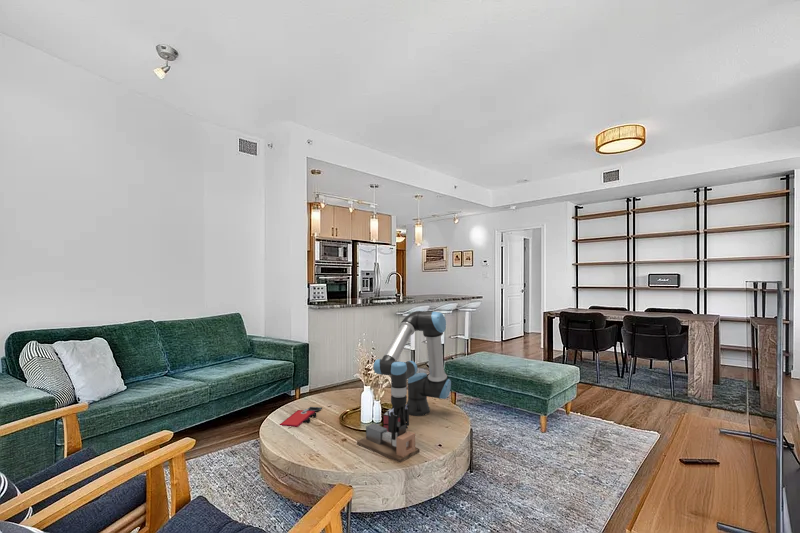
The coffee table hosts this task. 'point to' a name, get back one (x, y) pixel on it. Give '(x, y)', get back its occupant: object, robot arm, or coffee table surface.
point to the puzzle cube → (385, 420)
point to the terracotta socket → (401, 444)
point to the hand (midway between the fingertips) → (398, 443)
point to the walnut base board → (385, 450)
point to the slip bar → (400, 430)
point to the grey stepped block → (375, 433)
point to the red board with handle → (300, 417)
